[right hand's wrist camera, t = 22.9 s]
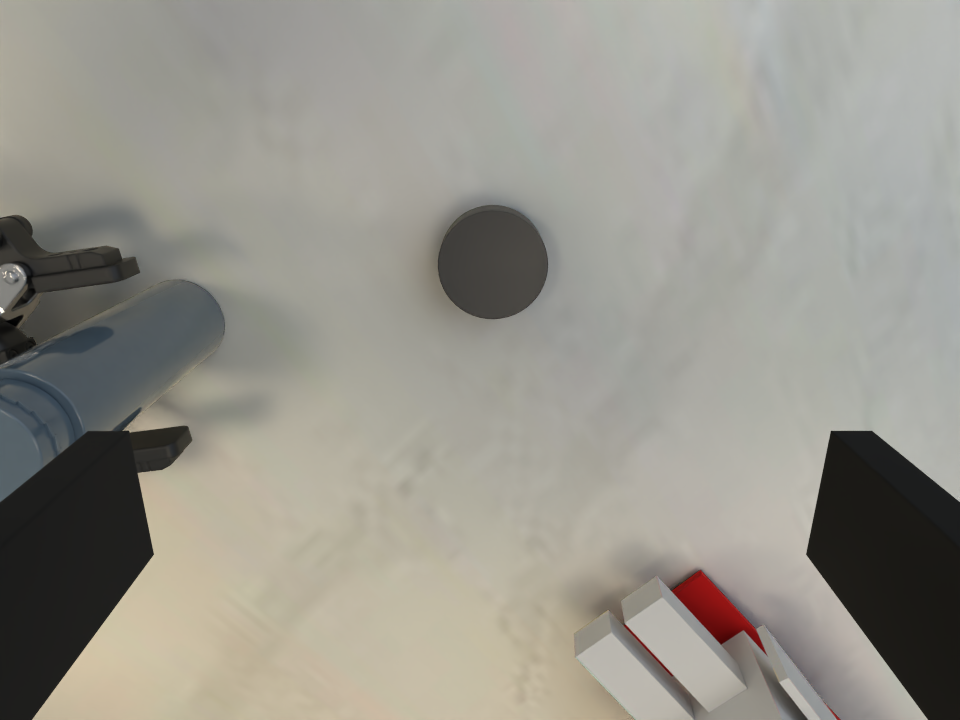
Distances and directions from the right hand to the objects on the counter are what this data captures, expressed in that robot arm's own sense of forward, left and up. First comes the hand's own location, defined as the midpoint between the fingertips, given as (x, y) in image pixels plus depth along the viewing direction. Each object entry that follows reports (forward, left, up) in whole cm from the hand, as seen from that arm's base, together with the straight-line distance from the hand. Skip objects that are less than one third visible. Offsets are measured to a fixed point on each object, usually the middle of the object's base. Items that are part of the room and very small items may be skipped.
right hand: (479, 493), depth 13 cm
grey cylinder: (-16, -6, -25) cm, 30 cm away
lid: (+1, 0, -23) cm, 23 cm away
